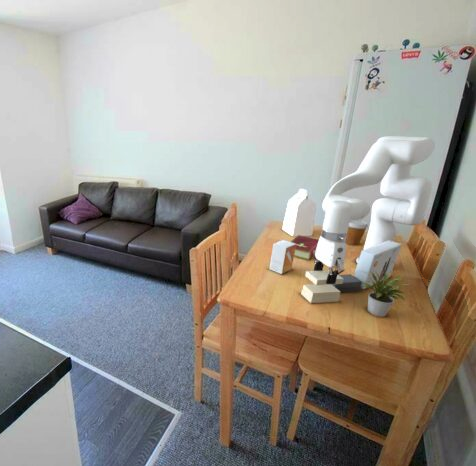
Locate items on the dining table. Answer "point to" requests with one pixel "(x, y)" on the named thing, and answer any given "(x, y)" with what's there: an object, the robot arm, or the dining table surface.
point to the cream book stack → (320, 293)
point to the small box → (282, 256)
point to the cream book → (321, 277)
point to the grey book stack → (348, 284)
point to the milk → (300, 215)
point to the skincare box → (377, 262)
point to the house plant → (382, 295)
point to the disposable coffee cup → (355, 231)
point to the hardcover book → (304, 246)
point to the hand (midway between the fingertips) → (323, 278)
